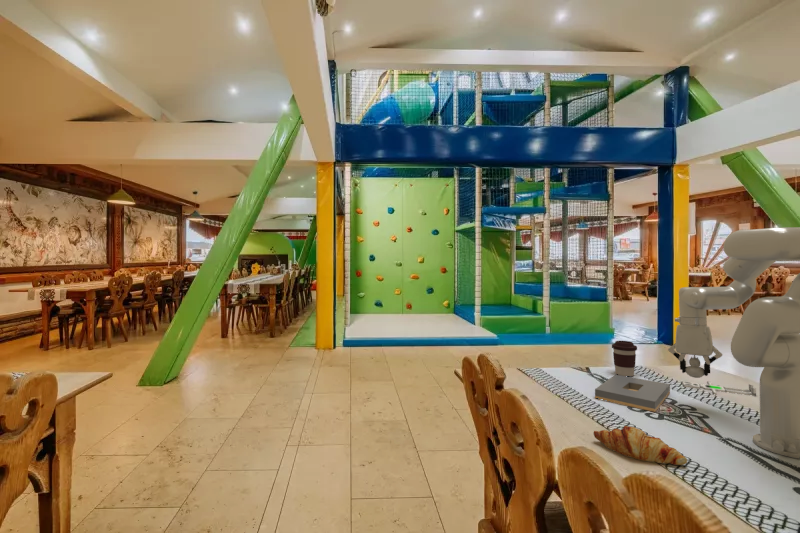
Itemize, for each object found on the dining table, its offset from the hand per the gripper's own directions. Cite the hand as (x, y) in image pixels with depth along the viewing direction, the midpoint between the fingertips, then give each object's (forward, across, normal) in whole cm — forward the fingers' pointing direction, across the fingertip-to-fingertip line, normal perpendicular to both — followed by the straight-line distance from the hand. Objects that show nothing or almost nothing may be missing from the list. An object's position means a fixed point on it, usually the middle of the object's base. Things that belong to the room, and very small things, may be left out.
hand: (695, 373), depth 131 cm
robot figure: (+12, +3, +29) cm, 31 cm away
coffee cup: (+11, -29, +27) cm, 41 cm away
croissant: (+13, -7, -52) cm, 54 cm away
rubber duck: (+2, 0, 0) cm, 2 cm away
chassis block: (+11, -19, -2) cm, 22 cm away
